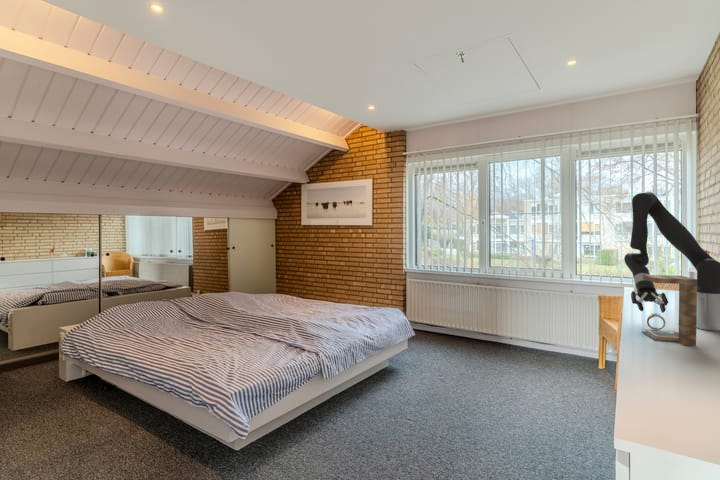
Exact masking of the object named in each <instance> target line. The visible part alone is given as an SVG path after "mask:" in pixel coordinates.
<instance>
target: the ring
mask: <svg viewBox="0 0 720 480" xmlns="http://www.w3.org/2000/svg"><path fill="white" fill-rule="evenodd" d="M655 317H657V318H660V319H661V321H662V323H663V325H662V326H661V327H659V328H657V327H652V326H651V325H650V323H649V322H650V320H651V319H653V318H655ZM666 323H667V322H666V319H665V318H664V317H663V316H662V315H661V314H660V313H657V312H654V313H651V315H649V316H648V317H647V320H646V324H647V326H648V327H649V328H650V329H652V330H655V331H660V330H662V329H663V328H665V327H666Z"/></svg>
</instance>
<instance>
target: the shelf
mask: <svg viewBox="0 0 720 480" xmlns="http://www.w3.org/2000/svg"><path fill="white" fill-rule="evenodd" d="M643 279H644V280H647V281H651V282H653V283H654V284H676V285H677V284H678V332H679V333H678V342H677V343H679V344H681V345H682V346H688V347H697V327H696V324H697V278H693V277H687V276H684V275H667V274H666V275H665V274H663V275H662V274H650V275H643Z"/></svg>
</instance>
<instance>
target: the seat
mask: <svg viewBox="0 0 720 480" xmlns="http://www.w3.org/2000/svg"><path fill="white" fill-rule="evenodd" d="M641 333H642V334H644V335H645V336H646V337H648V338H650V339H651V340H652V341H657V342H658V341H659V342H661V341H662V342H672V343H679V342H678V333H679V331H677V330H674V331H673V332H660V331H651V330H650V329H648V328H647V329H645V331H644V330H643V331H641Z"/></svg>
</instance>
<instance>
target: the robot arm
mask: <svg viewBox="0 0 720 480" xmlns="http://www.w3.org/2000/svg"><path fill="white" fill-rule="evenodd" d="M631 206H632V207H631V208H632V229H631V236H630V243H629V244H630V245H629V246H630V248H631V249H634V250H638V251H640V252H628V253H626V254H625V255H624V263H625V265H626V266H627V268H628V269H629V271H630V272H631V273H632V277H633V281H634V285H635V288H636V292H635V291H634V290H632V292H631V293H630V298H631V303H632V304H633V305H636V306H637V308H638V311H640V312H643V311H644V305H643V303H644V302H650V303H655V305H656V304H657V305H658V306H659V308H660V312H661V313H663V314H664V313H665V312H666V310H667V308H666V306H667V305H668V304H669V300H668V298H667V296H666V293H665V292H661V293H658V292H657V290H656V286H655V283H654V282H651V281H647V280H644V279H643V275H651V273H650V271H649V269H648V267H647V265H648V264H649V262H650V259H649V254H648V248H647V247H648V246H647V244H648V238H649V237H648V236H649V230H648V216H650V217H651V218H652V220H653V221H654V223H655V224H656V226H657V229H658V231H660V233H661V234H662V236H663V237H664V239H666V240H667V241H668V242H669V244H671V245H672V246H673V247H674V248H675V249H676V250H678V251H679V252H680V253H681V254H683V256H685V257H686V258H687V260H688V261H689V262H690V263H691V265H692V266H693V268H694V269H695V270H696V279H697V324H696V329H701V330H705V331H714V332H717V331H718V332H719V331H720V262H719V261H718V260H717V259H715V258H714V257H712V256H711V255H710V254H709V253H707V251H705V250H704V249H703V248H702V247H701V245H700V243H698V241H697V240H696V238H695V237H694V236H693V234H692V233H691V232H690V231H689V229H688V228H686V226H684V225H683V224H682V223H681V222H680V221H679V219H678V218H676V217H675V216H674V215H673V214H672V213H671V212H670V211H669V210H668V209H667V208H666V207H665V206H664V205H663V203H662V202H661V201H660V199H659V198H658V197H657V195H656V194H655V193H653V192H652V191H647V190H645V191H641V192H638V193H636V194H635V195H634V196H633V197H632V199H631ZM637 297H638V298H639V299H637Z"/></svg>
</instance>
